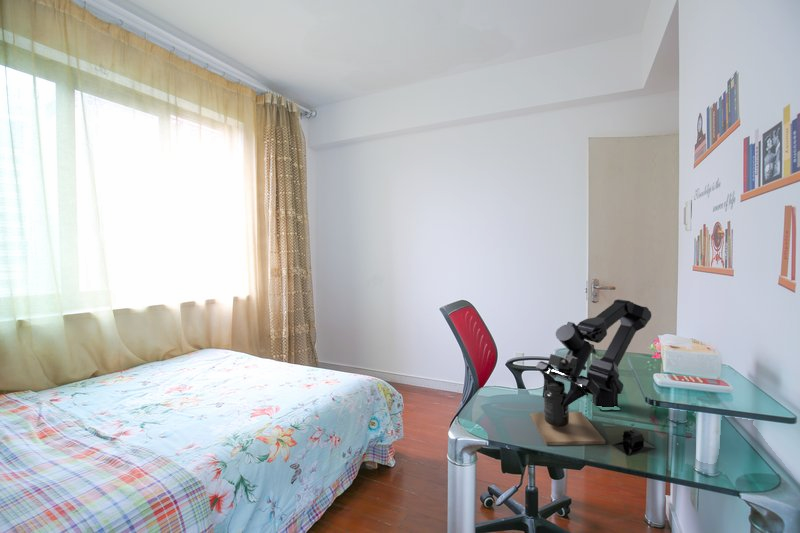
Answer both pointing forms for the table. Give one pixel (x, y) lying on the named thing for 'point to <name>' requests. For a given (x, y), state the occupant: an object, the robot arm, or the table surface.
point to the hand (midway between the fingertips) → (553, 402)
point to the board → (568, 430)
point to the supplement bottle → (555, 404)
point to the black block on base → (633, 443)
